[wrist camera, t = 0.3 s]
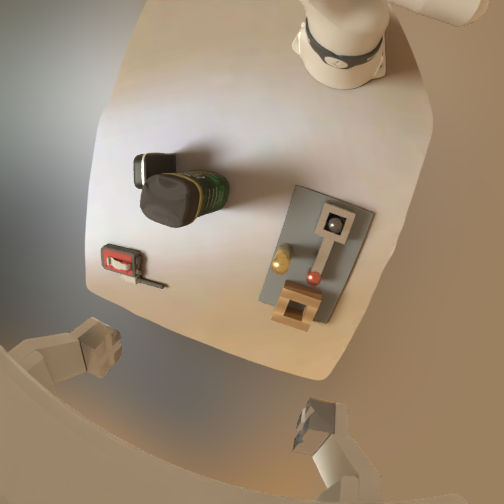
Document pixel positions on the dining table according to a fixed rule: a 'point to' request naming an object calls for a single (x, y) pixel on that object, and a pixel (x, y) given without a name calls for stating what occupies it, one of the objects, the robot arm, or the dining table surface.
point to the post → (334, 223)
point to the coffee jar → (183, 196)
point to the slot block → (299, 295)
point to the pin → (282, 259)
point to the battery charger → (152, 166)
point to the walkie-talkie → (124, 264)
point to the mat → (315, 251)
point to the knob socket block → (328, 238)
